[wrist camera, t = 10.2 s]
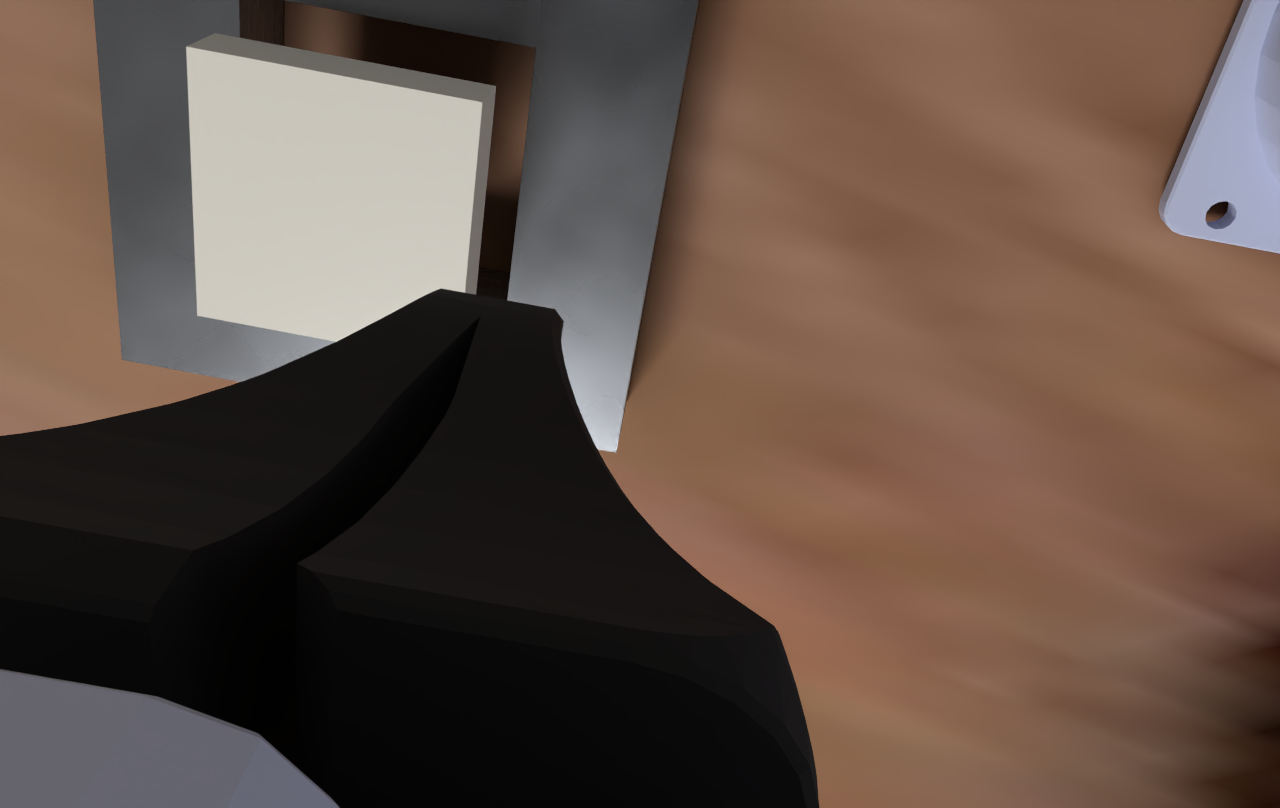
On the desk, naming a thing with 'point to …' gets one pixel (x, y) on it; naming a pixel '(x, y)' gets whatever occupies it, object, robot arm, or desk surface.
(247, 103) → the off-white block
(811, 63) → the desk surface
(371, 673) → the robot arm
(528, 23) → the panel
